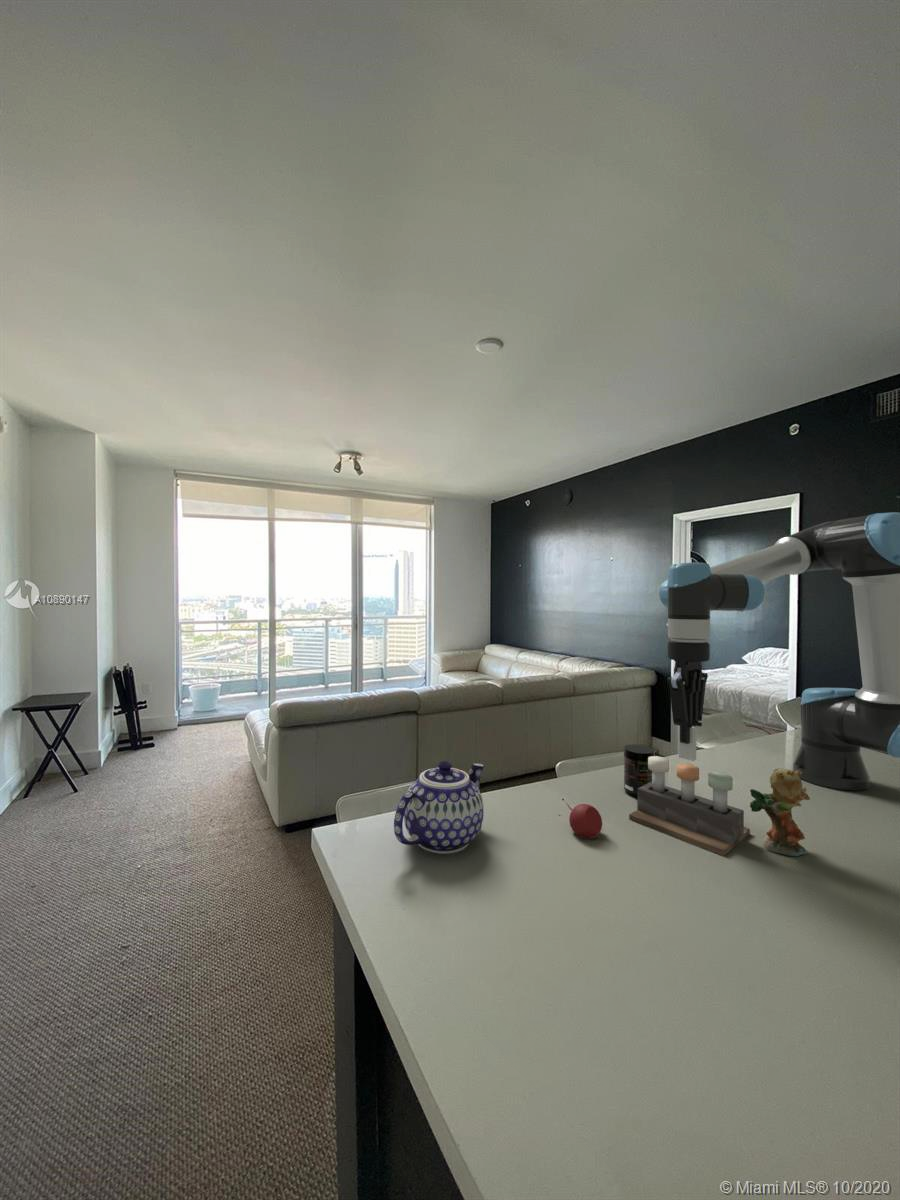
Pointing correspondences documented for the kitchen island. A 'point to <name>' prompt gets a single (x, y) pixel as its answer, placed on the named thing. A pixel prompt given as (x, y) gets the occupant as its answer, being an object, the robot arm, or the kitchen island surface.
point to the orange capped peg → (687, 781)
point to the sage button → (720, 790)
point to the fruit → (585, 821)
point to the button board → (690, 819)
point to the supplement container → (636, 767)
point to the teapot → (442, 809)
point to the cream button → (658, 772)
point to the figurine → (782, 811)
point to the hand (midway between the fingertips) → (687, 758)
